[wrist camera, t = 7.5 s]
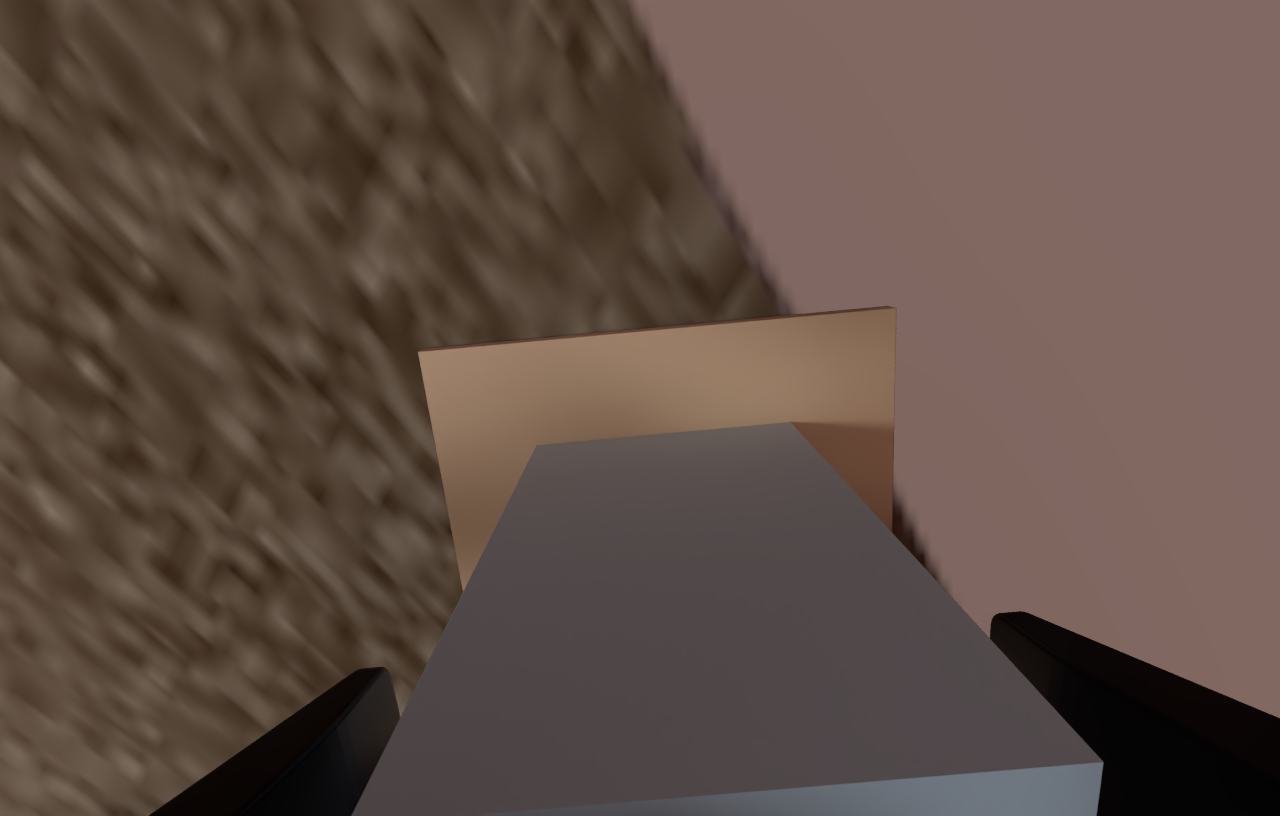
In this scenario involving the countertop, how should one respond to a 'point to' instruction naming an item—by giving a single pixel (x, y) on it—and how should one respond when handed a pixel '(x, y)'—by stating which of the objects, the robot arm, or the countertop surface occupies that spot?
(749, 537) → the block
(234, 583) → the countertop surface
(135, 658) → the countertop surface
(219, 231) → the countertop surface
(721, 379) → the pad
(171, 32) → the countertop surface
